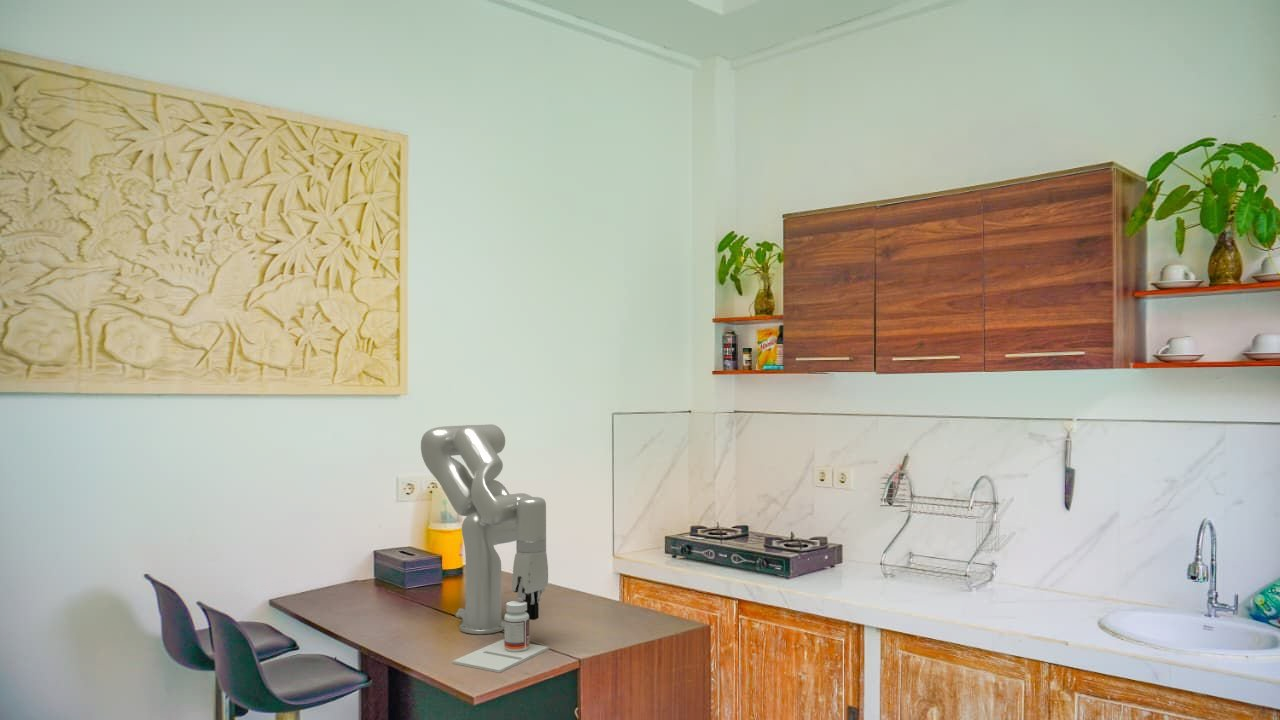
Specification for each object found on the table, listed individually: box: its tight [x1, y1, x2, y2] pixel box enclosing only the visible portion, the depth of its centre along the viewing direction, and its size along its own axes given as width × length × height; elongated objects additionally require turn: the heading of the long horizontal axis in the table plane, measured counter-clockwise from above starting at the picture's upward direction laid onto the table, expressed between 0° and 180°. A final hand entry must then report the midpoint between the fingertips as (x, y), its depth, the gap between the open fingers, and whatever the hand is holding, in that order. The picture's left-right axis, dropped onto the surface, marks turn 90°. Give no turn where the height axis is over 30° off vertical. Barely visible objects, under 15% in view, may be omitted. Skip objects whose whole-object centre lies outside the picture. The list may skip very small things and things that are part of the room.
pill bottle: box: [503, 600, 530, 652], centre depth 226 cm, size 6×6×11 cm
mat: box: [451, 638, 550, 674], centre depth 222 cm, size 14×20×1 cm
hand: (531, 618), depth 231 cm, fingers closed
